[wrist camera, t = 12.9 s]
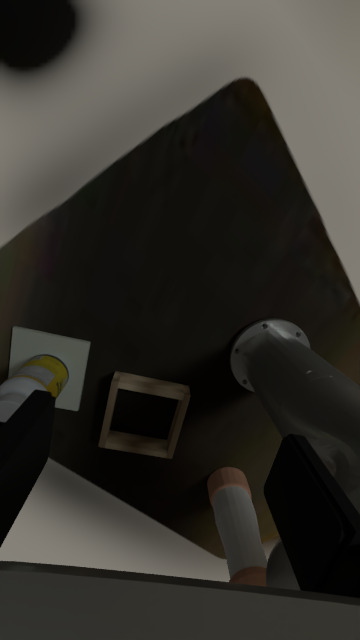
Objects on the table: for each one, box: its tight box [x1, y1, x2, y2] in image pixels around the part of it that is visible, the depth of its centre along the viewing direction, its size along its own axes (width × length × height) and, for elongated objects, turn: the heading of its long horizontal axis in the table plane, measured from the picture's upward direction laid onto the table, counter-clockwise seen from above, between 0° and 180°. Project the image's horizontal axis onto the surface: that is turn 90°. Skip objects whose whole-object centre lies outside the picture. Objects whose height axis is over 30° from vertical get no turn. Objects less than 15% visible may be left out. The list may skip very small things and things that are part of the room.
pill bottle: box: [0, 354, 69, 422], centre depth 36 cm, size 6×6×12 cm
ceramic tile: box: [8, 326, 91, 411], centre depth 42 cm, size 11×12×1 cm
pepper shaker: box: [207, 467, 267, 587], centre depth 41 cm, size 7×7×19 cm
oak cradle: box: [98, 371, 191, 459], centre depth 43 cm, size 12×12×3 cm
